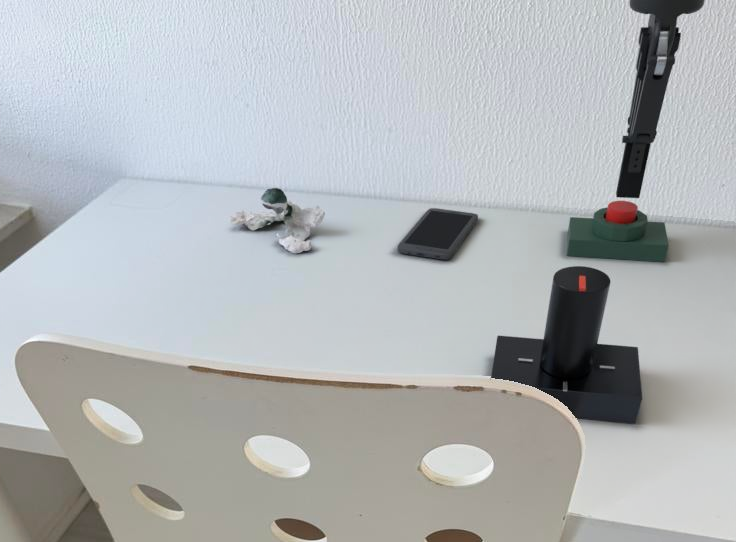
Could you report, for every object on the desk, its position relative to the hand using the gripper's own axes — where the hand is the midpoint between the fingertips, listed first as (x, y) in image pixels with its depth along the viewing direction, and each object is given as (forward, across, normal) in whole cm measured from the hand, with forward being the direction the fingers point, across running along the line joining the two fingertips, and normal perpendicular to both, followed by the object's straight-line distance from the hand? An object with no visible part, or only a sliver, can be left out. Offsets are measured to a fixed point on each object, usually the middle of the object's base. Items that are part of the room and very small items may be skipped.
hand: (627, 195), depth 95 cm
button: (+3, 0, 0) cm, 3 cm away
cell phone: (+7, 0, +23) cm, 24 cm away
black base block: (+7, -34, +6) cm, 35 cm away
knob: (+4, -34, +6) cm, 35 cm away
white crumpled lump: (+6, -2, +45) cm, 46 cm away
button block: (+7, 0, 0) cm, 7 cm away
